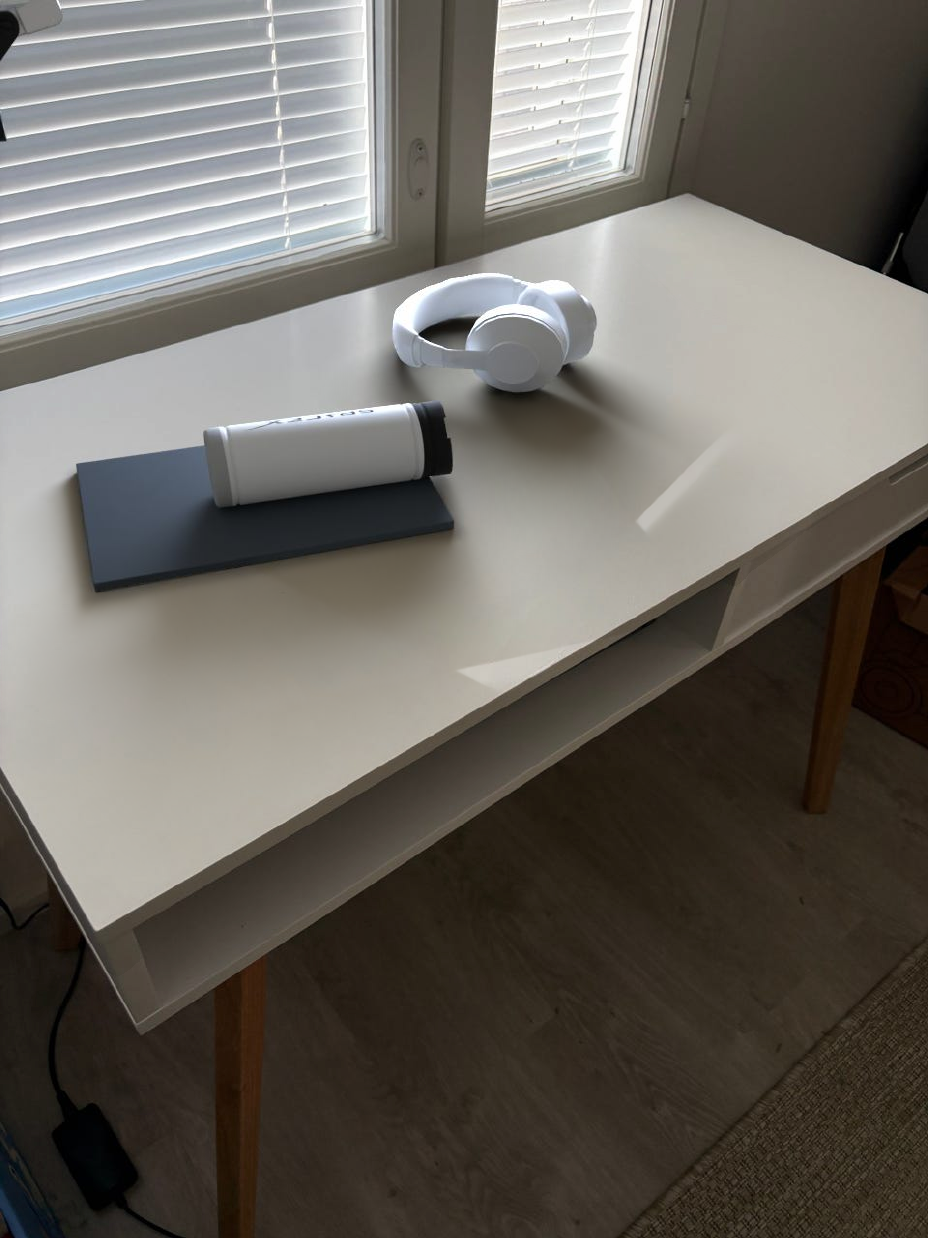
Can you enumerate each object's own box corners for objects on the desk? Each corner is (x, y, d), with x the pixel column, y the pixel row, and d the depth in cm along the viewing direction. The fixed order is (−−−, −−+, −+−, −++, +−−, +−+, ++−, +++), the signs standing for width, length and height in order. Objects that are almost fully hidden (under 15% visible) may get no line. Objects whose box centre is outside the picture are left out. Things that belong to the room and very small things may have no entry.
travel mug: (216, 517, 83) (449, 483, 88) (217, 496, 76) (468, 460, 82) (202, 444, 83) (434, 414, 88) (202, 417, 77) (452, 387, 82)
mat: (95, 592, 74) (92, 584, 74) (77, 471, 85) (75, 463, 84) (454, 528, 82) (454, 520, 81) (396, 424, 93) (396, 417, 92)
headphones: (624, 348, 104) (466, 314, 114) (627, 273, 99) (462, 244, 109) (528, 422, 93) (361, 377, 103) (526, 341, 88) (352, 302, 98)
